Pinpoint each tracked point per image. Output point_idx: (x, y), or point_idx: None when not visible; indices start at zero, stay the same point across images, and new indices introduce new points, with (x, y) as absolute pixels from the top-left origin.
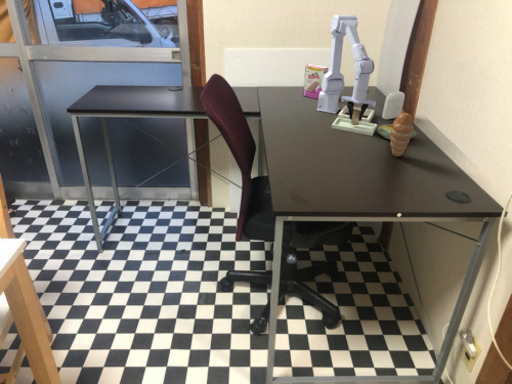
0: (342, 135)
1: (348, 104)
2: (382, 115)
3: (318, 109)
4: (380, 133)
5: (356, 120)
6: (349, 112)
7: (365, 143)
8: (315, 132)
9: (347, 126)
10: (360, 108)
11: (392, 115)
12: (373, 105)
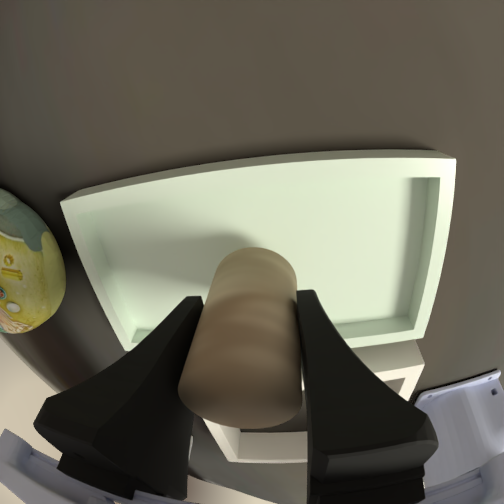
0: (290, 29)
1: (406, 456)
2: (190, 441)
3: (494, 377)
4: (20, 204)
5: (223, 284)
6: (338, 342)
7: (67, 24)
8: (494, 17)
9: (316, 245)
10: (298, 459)
11: None
12: (6, 444)
